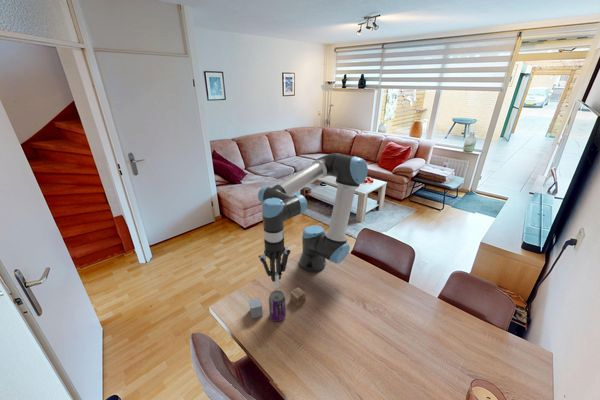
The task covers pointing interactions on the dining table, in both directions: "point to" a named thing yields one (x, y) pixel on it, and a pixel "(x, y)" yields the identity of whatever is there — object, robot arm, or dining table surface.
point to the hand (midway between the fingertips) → (276, 285)
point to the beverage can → (277, 305)
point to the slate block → (255, 308)
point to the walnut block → (297, 296)
